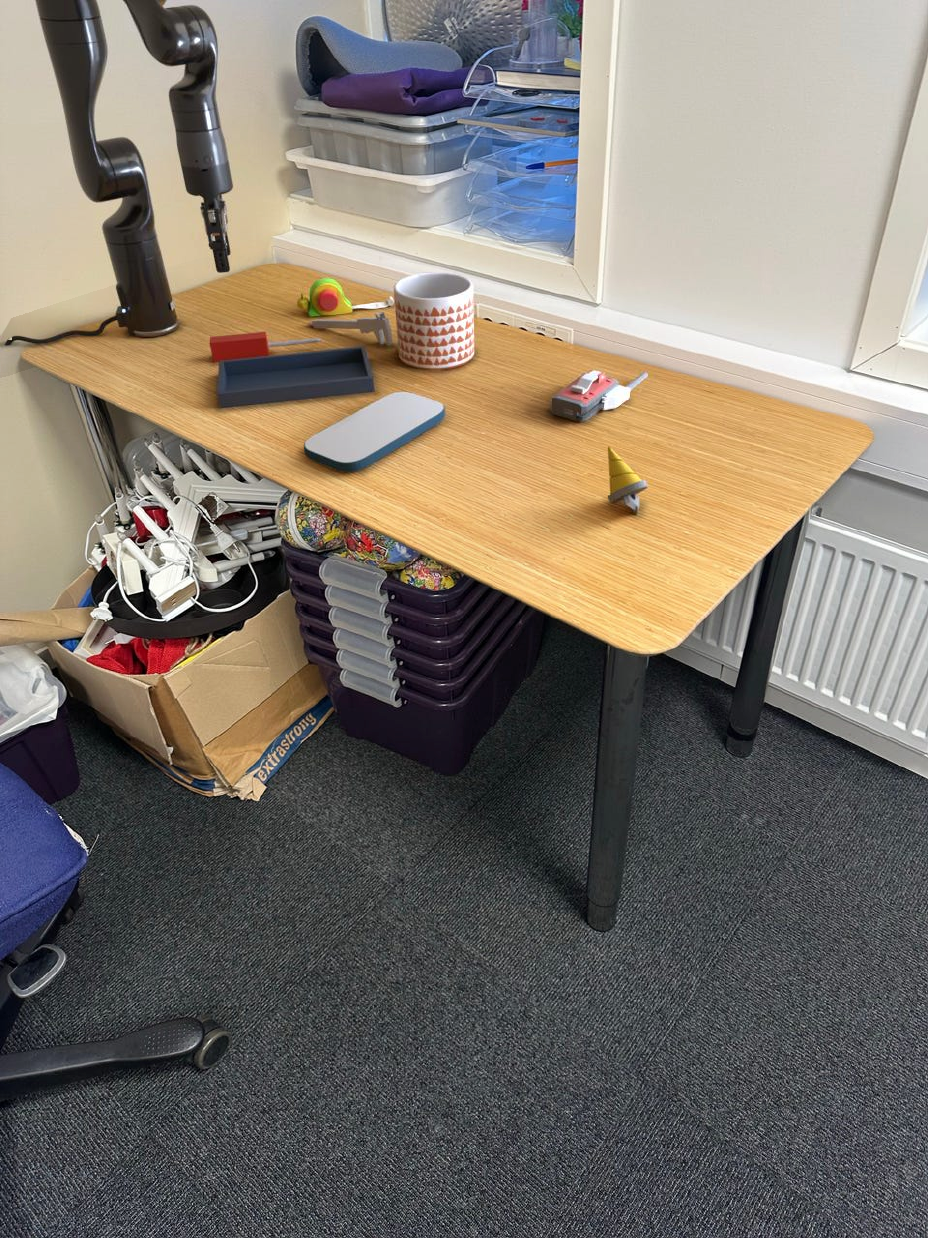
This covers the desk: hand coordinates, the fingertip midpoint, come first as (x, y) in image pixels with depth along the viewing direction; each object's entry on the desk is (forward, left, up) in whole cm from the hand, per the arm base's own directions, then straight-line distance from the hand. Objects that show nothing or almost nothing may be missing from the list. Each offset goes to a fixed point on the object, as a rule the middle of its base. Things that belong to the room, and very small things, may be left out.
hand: (224, 263), depth 149 cm
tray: (+9, -15, -17) cm, 24 cm away
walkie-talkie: (+58, -33, -17) cm, 68 cm away
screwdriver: (+5, -1, -17) cm, 17 cm away
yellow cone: (+51, -64, -17) cm, 83 cm away
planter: (+35, -9, -17) cm, 40 cm away
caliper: (+20, +5, -17) cm, 27 cm away
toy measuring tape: (+21, +18, -17) cm, 32 cm away
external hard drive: (+21, -37, -17) cm, 45 cm away
